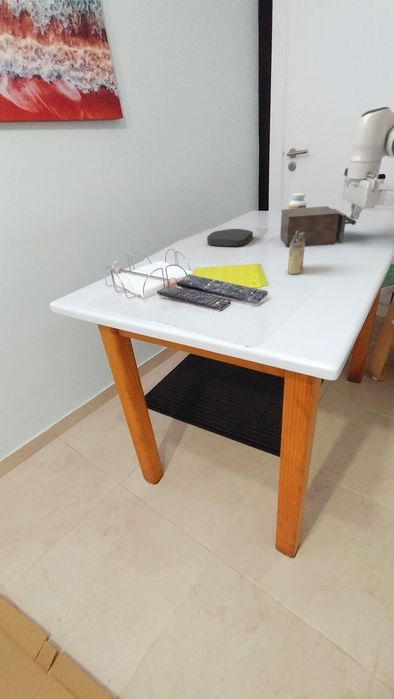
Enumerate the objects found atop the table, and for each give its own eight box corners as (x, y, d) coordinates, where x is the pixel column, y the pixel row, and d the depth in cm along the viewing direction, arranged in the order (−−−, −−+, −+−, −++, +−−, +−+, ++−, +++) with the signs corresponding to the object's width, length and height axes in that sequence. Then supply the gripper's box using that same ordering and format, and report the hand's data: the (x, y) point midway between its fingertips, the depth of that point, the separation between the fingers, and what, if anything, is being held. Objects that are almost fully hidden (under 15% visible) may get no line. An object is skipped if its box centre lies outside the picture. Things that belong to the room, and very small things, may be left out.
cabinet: (323, 234, 121) (327, 206, 116) (334, 244, 111) (339, 213, 106) (280, 237, 122) (281, 209, 117) (286, 247, 112) (288, 216, 107)
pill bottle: (294, 228, 132) (296, 196, 126) (284, 225, 138) (286, 194, 131) (307, 225, 134) (310, 193, 128) (297, 222, 140) (299, 192, 133)
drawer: (344, 231, 120) (347, 207, 116) (355, 239, 110) (360, 214, 106) (291, 234, 121) (292, 211, 117) (297, 243, 112) (300, 218, 107)
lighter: (299, 275, 90) (302, 237, 84) (285, 274, 91) (287, 236, 86) (303, 266, 95) (307, 230, 90) (289, 265, 96) (292, 229, 91)
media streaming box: (203, 245, 121) (203, 237, 119) (219, 235, 131) (219, 227, 130) (242, 247, 115) (242, 239, 113) (255, 236, 126) (255, 228, 124)
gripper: (388, 174, 96) (376, 225, 103) (361, 168, 113) (353, 212, 120) (366, 175, 96) (356, 225, 104) (342, 169, 113) (335, 212, 121)
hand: (354, 218), depth 112 cm, fingers closed, pressing on drawer
